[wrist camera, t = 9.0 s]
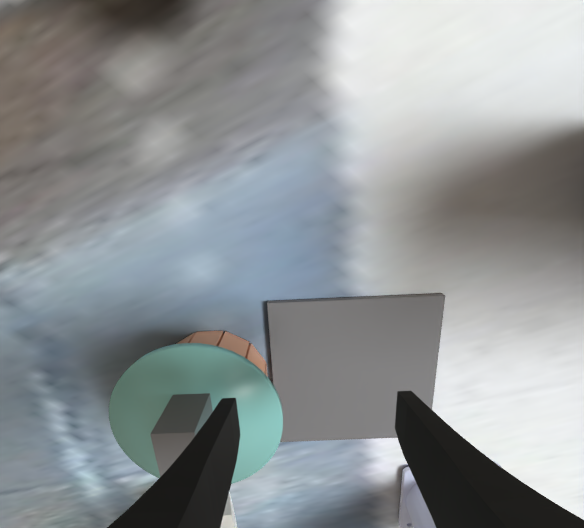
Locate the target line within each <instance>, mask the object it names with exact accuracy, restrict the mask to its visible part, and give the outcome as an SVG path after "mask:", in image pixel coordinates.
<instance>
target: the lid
mask: <svg viewBox="0 0 584 528" xmlns="http://www.w3.org/2000/svg"><path fill="white" fill-rule="evenodd" d="M222 398H236V402H237V410H238V418H239V426H240V441H239V449H238V455H237V461H236V466H235V470H234V474H233V478H232V482H231V484H232V483H235V482H238V481H241V480H243V479H245V478H247V477H249V476H251V475H253V474H254V473H256V472H257V471H258V470H260V469H261V468H262V467H263V466H264V465H265V464H266V463H267V462H268V461H269V460H270V459H271V457H272V456H273V455H274V453H275V451H276V450H277V448H278V445H279V443H280V440H281V436H282V430H283V410H282V404H281V401H280V398H279V395H278V393H277V391H276V389H275V387H274V385H273V384H272V382H271V381H270V379H269V378H268V377H267V376H266V375H265V373H264V372H263V371H262V370H261V369H259V368H258V367H257V366H256V365H255V364H254V363H252V362H251V361H249V360H248V359H246V358H245V357H243V356H241V355H239V354H237V353H235V352H233V351H230V350H228V349H225V348H222V347H218V346H214V345H209V344H202V343H181V344H173V345H169V346H164V347H161V348H159V349H156V350H153V351H151V352H149V353H147V354H146V355H144V356H142V357H141V358H140V359H138V360H137V361H135V362H134V363H133V364H132V365H131V366H130V367H129V368H128V369H127V370H126V371H125V373H124V374H123V375H122V376H121V378H120V379H119V380H118V382H117V383H116V385H115V387H114V389H113V391H112V395H111V398H110V403H109V420H110V425H111V429H112V432H113V434H114V437H115V439H116V440H117V442H118V444H119V446H120V447H121V448H122V450H123V451H124V452H125V454H126V455H127V456H128V457H129V458H130V459H131V460H132V461H133V462H135V463H136V464H137V465H138V466H139V467H141V468H142V469H144V470H145V471H147V472H148V473H150V474H152V475H154V476H156V477H158V478H160V477H161V476H162V475H163V474H164V473H165V472H166V471H167V469H168V468H169V467H170V466H171V465H172V464H173V463H174V461H175V460H176V459H177V458H178V457H179V455H180V454H181V453H182V452H183V451H184V449H185V448H186V447H187V446H188V445H189V443H190V442H191V441H192V439H193V438H194V437H195V435H196V434H197V433H198V431H199V430H200V429H201V427H202V426H203V425H204V423H205V422H206V421H207V419H208V418H209V416H210V415H211V413H212V412H213V411H214V409H215V408H216V406H217V405H218V403H219V402H220V400H221V399H222Z"/></svg>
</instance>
